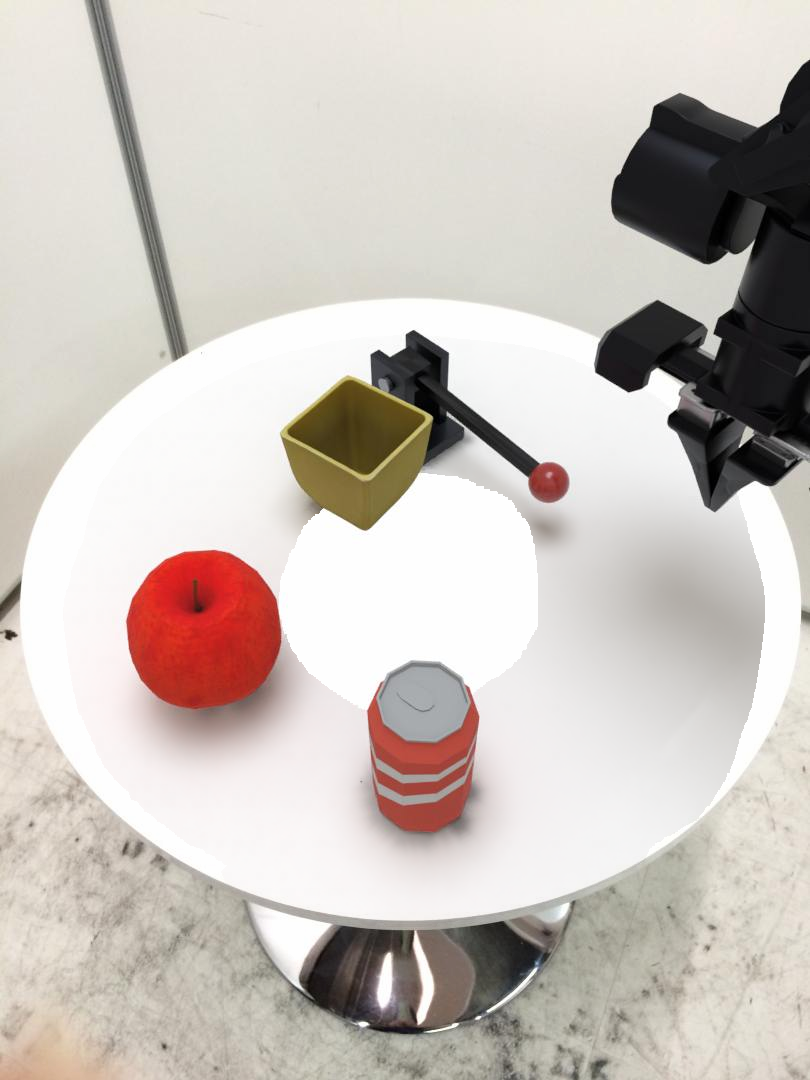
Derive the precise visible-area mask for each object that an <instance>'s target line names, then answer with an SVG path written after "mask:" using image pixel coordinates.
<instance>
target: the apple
mask: <svg viewBox="0 0 810 1080" xmlns="http://www.w3.org/2000/svg"><path fill="white" fill-rule="evenodd" d="M280 619H281V617H280V611H279V605H278V600H277V597H276V595H275V594H274V592H273V591H272V589H271V587H270V585H269V584H268V583H267V582H266V580H265V579H264V577H262V575H261V574H260V572H259V571H258V570H256V569H255V568H254V567H252V566H251V565H249V564H248V563H247V562H246V561H244V560H242V558H240V557H239V556H236V555H235V554H233V553H231V552H227V551H223V550H218V549H208V550H206V549H205V550H189V551H182V552H180V553H177V554H175V555H172V556H170V557H167V558H165V559H163V561H162V562H160V563H159V564H158V565H156V567H154V568H153V569H152V570H151V571H149V572H148V574H147V575H146V577H145V578H144V579H143V581H142V582H141V584H140V586H139V588H137V590H136V592H135V593H134V595H133V596H132V598H131V601H130V604H129V608H128V611H127V615H126V619H125V624H126V625H125V626H126V634H127V635H126V636H127V644H128V651H129V655H130V658H131V661H132V664H133V666H134V669H135V671H136V673H137V675H138V677H139V679H140V681H141V683H143V684H144V685H145V686H146V687H147V689H149V690H150V692H151V693H152V694H154V695H155V696H156V697H157V698H158V699H160V700H161V701H164V702H166V703H168V704H170V705H173V706H176V707H179V708H183V709H188V710H189V709H190V710H195V711H197V710H202V709H208V708H209V709H210V708H214V707H221V706H227V705H229V704H232V703H236V702H238V701H240V700H243V699H244V698H246V697H248V696H250V695H252V694H253V693H254V692H256V691H257V690H258V689H259V688H260V687H261V686H262V685H263V684H264V683H265V682H266V681H267V679H268V677H269V676H270V674H271V672H272V670H273V667H274V666H275V664H276V662H277V659H278V656H279V654H280V649H281V646H282V625H281V620H280Z"/></svg>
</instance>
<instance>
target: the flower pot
mask: <svg viewBox="0 0 810 1080" xmlns="http://www.w3.org/2000/svg"><path fill="white" fill-rule="evenodd" d="M432 422H433V417H432V416H431V415H430V414H428V413H427V412H425V411H423V410H421V409H419V408H417V407H415V406H413V405H411V404H409V403H407V402H405V401H403V400H401V399H399V398H397V397H395V396H392V395H390V394H388V393H386V392H384V391H382V390H380V389H378V388H376V387H374V386H372V384H369V383H368V382H366V381H364V380H362V379H360V378H357V377H355V376H352V375H347V374H346V375H345V376H343V377H342V378H341V379H339V380H338V381H337V382H336V383H335V384H333V385H332V386H331V387H330V388H329V389H327V391H326V392H324V393H323V394H321V396H320V397H318V398H317V399H316V400H315V401H314V402H312V403H311V404H310V405H309V406H308V407H306V408H305V409H304V410H303V411H301V412H300V413H299V414H298V415H296V416H295V417H294V418H293V419H292V420H291V421H289V422H288V423H287V424H286V425H285V426H284V427H283V428H282V429H281V430H280V432H279V436H280V439H281V442H282V444H283V445H282V446H283V447H284V451H285V454H286V457H287V460H288V463H289V466H290V470H291V473H292V475H293V477H294V479H295V481H296V483H297V484H298V486H299V487H300V488H301V490H302V491H303V492H304V493H305V494H306V495H307V496H308V497H309V498H310V499H311V500H312V501H314V502H315V503H316V504H317V505H318V506H320V507H321V508H323V509H324V510H326V511H328V512H330V513H331V514H333V515H335V516H337V517H338V518H340V519H342V520H344V521H345V522H347V523H349V524H351V525H352V526H354V527H356V528H357V529H359V530H361V531H363V532H365V531H366V532H367V531H369V530H370V529H372V528H373V527H374V525H376V524H377V523H378V522H379V521H380V520H381V518H383V517H384V516H385V515H386V514H387V512H389V510H390V509H392V508H393V506H395V504H397V503H398V502H399V501H400V500H401V498H402V497H403V496H404V495H405V494H406V492H408V490H410V488H411V487H412V485H413V484H414V482H415V481H416V479H417V478H418V476H419V474H420V472H421V470H422V468H423V465H424V464H423V462H424V459H425V455H426V450H427V446H428V441H429V436H430V431H431V426H432Z"/></svg>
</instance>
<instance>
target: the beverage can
mask: <svg viewBox="0 0 810 1080" xmlns="http://www.w3.org/2000/svg"><path fill="white" fill-rule="evenodd" d="M366 714H367V727H368V737H369V738H368V739H369V751H370V762H371V763H370V764H371V775H372V776H371V777H372V784H373V789H374V793H375V796H376V801H377V805H378V809H379V812H380V813H381V814H383V815H384V816H385V817H386V818H388V819H389V820H390V821H391V822H393V823H394V824H395V825H396V826H398V827H399V828H400V829H401V830H402V831H408V832H425V833H436V832H437V831H439V830H440V829H442V828H444V827H446V826H447V825H448V824H450V823H452V822H454V821H455V820H457V819H458V818H459V817H461V816H462V813H463V811H464V808H465V805H466V801H467V799H468V797H469V794H470V791H471V788H472V779H473V772H474V765H475V764H474V763H475V756H476V748H477V739H478V731H479V725H480V715H479V711H478V708H477V706H476V702H475V699H474V697H473V693H472V691H471V688H470V686H468V684H466V683H465V681H464V678H463V677H462V675H460V674H458V673H457V672H455V671H454V670H453V669H451V668H450V667H448V666H447V665H445V664H444V663H443V662H441V661H437V660H436V661H434V660H433V661H432V660H414V659H411V660H409V661H407V662H405V663H404V664H402V665H400V666H398V667H396V668H395V669H393V670H391V671H389V672H387V673H386V675H385V678H384V679H383V680H382V681H381V682H379V685H378V687H377V689H376V691H375V693H374V695H373V697H372V699H371V702H370V703H369V706H368V708H367V709H366Z"/></svg>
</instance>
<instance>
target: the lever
mask: <svg viewBox="0 0 810 1080" xmlns="http://www.w3.org/2000/svg"><path fill="white" fill-rule="evenodd" d="M390 357H391V358H392V359H394V360H395V361H396V362H398V363H399V364H401V365H402V366H404V367H405V368H407V369H408V370H410V371H411V372H412V373H414V393H415V392H416V391H418V390H421V391H422V392H424V393H425V394H426V395H427V396H428V397H430V398H431V399H432V400H433V401H435V402H436V403H437V404H438V405H439V406H441V407H442V408H443V409H444V410H446V411H447V414H449V415H450V416H451V417H453V418H454V419H455V420H457V421H458V422H459V424H461V425H462V426H463V427H464V428H466V429H468V430H469V431H470V432H471V433H473V434H474V435H475V436H476V437H477V438H478V439H480V440H481V441H482V442H483V443H485V444H486V445H487V446H488V447H490V448H491V449H492V450H493V451H494V452H496V453H497V454H498V455H499V456H501V457H502V458H503V459H504V460H506V461H507V462H508V463H509V464H511V465H512V466H513V467H514V468H516V469H517V470H518V471H519V472H521V473H522V474H523V475H524V476H525V477H526V478H527V479H528V480H527V485H528V486H527V487H528V491H529V493H530V494H531V495H532V496H533V498H534V499H535V500H537V501H539V502H540V503H545V504H554V503H557V502H559V501H561V500H562V499H563V498H564V497H565V496H566V495H567V493H568V492H569V489H570V484H571V482H570V480H571V479H570V476H569V473H568V472H567V469H566V468H564V467H563V465H561V464H559V463H557V462H553V461H546V462H542V463H540V462H539V461H538V460H536V459H535V458H534V457H532V455H530V454H529V453H528V452H527V451H525V450H524V449H522V448H521V447H520V446H519V445H517V443H515V442H514V441H512V439H510V438H509V437H507V436H506V435H505V434H504V433H502V432H501V431H500V430H499V429H497V427H495V426H494V425H492V424H491V423H490V422H489V421H488V420H486V419H485V418H484V417H483V416H482V415H480V414H479V413H478V412H476V411H475V410H474V409H473V408H472V407H470V406H469V405H468V404H466V402H464V401H463V400H461V399H460V398H459V397H458V396H456V395H455V394H453V392H451V391H450V390H449V389H448V390H447V389H446V388H445V387H444V386H442V385H441V384H440V383H439V382H437V381H436V380H435V379H434V378H432V377H431V376H430V371H431V363H430V362H429V361H428V360H426V359H425V358H424V357H423V356H421V355H420V354H419V353H418V352H416V351H415V350H414V349H413V348H411V347H410V346H408V347H406V346H405V348H403V349H401V350H400V351H399V350H398V352H396V353H393V354H392V355H391V356H390Z"/></svg>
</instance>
